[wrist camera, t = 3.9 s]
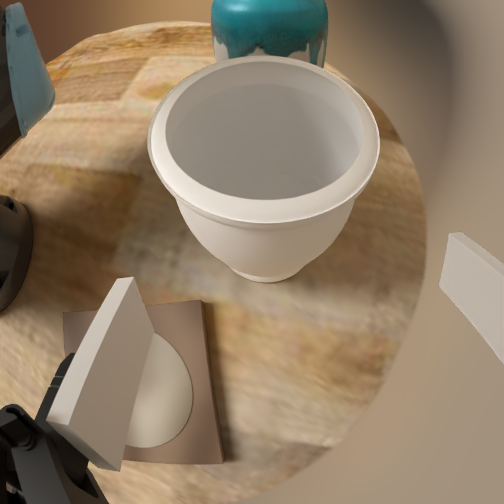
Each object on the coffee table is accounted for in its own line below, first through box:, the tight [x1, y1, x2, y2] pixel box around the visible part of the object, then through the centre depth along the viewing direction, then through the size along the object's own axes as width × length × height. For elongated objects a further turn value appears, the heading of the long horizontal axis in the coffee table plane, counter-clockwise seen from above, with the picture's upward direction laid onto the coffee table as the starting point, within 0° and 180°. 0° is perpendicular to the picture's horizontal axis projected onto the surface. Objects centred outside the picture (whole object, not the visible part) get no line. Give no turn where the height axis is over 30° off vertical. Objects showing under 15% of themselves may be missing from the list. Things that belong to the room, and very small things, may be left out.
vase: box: [211, 0, 328, 68], centre depth 22 cm, size 11×11×19 cm
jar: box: [147, 56, 380, 282], centre depth 19 cm, size 11×10×15 cm
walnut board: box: [63, 300, 225, 464], centre depth 22 cm, size 14×14×1 cm
